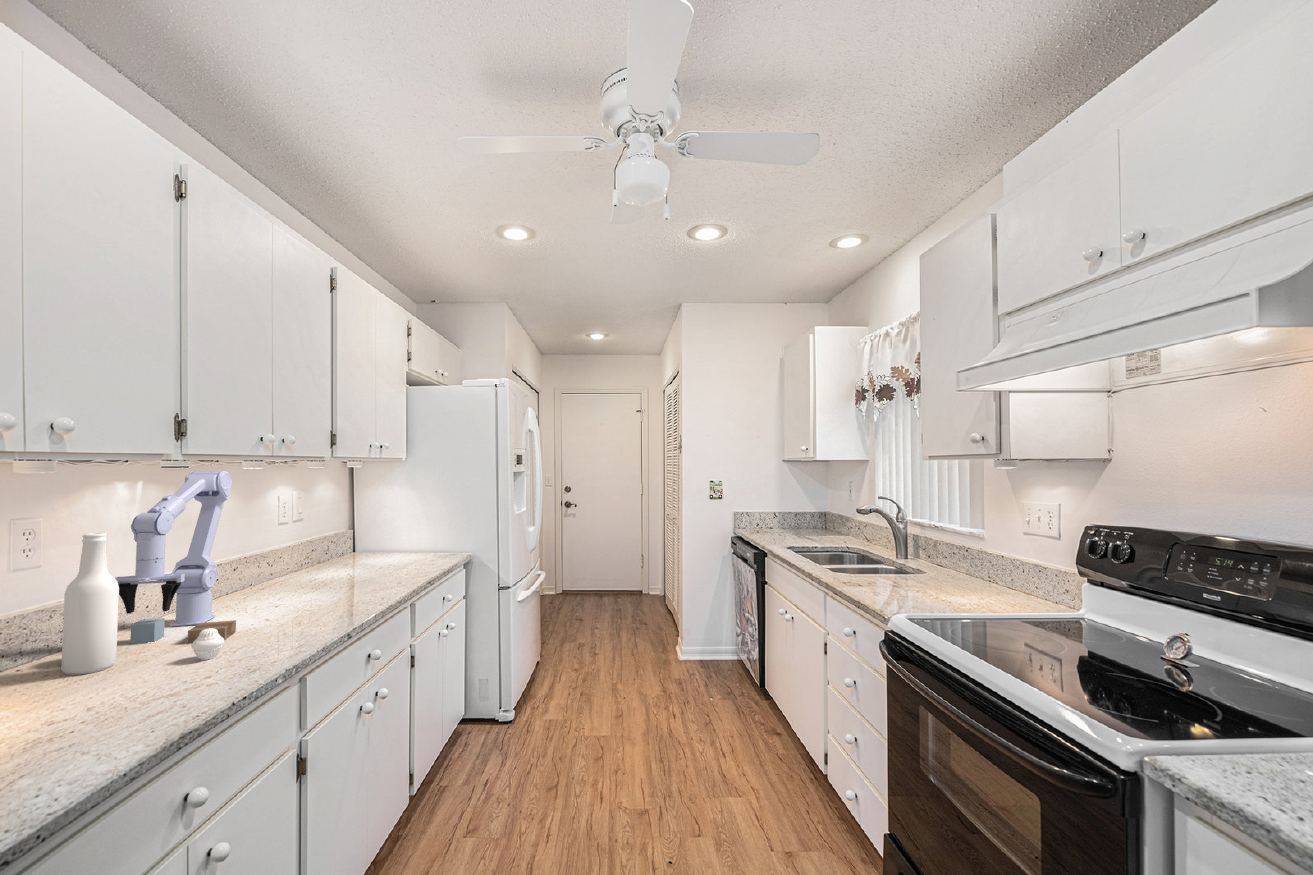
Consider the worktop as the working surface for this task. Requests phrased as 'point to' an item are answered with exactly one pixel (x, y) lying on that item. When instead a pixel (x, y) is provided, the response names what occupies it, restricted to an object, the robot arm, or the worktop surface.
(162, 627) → the blue cube
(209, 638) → the muffin
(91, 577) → the white bottle
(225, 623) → the walnut base
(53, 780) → the worktop surface
